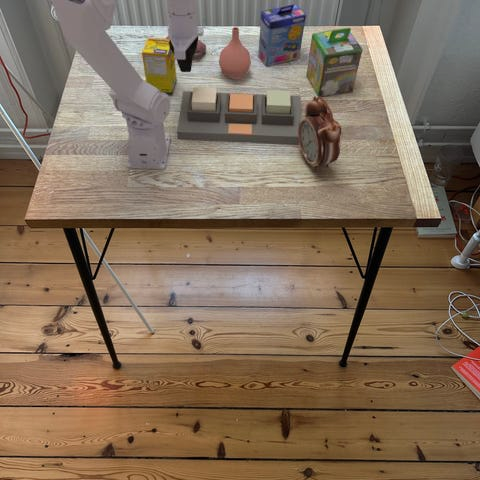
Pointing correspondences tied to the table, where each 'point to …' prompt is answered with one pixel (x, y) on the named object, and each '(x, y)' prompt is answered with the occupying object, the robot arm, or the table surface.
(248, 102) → the terracotta button
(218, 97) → the control board
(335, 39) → the chalk box
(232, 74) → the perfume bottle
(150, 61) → the supplement box
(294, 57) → the blue cardboard box
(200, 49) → the red toy car
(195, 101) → the cream button
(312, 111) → the alarm clock
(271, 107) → the sage button
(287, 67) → the table surface
